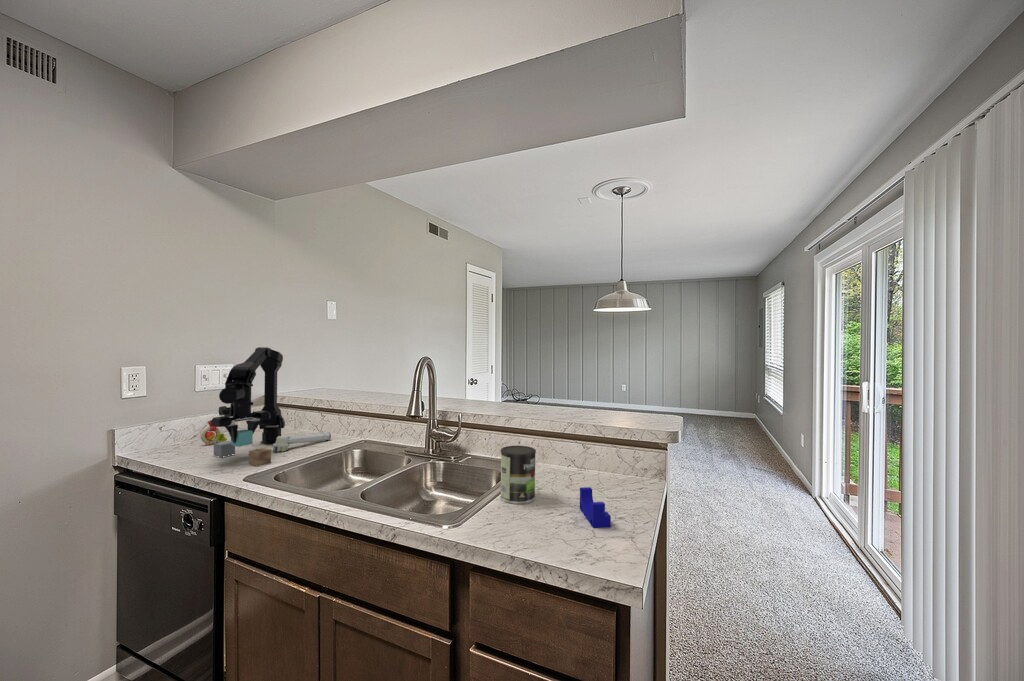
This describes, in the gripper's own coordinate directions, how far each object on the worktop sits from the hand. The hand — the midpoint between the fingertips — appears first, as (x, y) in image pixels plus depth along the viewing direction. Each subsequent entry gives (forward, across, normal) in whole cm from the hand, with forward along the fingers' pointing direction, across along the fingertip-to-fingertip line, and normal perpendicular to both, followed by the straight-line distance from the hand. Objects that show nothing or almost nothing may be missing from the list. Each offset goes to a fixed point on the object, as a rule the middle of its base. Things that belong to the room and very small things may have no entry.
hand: (241, 441), depth 157 cm
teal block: (+1, 0, 0) cm, 1 cm away
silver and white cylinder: (+7, -24, +2) cm, 26 cm away
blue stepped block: (+7, -12, +132) cm, 132 cm away
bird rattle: (+7, -8, -33) cm, 35 cm away
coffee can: (+7, -15, +108) cm, 109 cm away
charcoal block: (+7, 0, -11) cm, 13 cm away
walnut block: (+7, 0, +11) cm, 13 cm away
